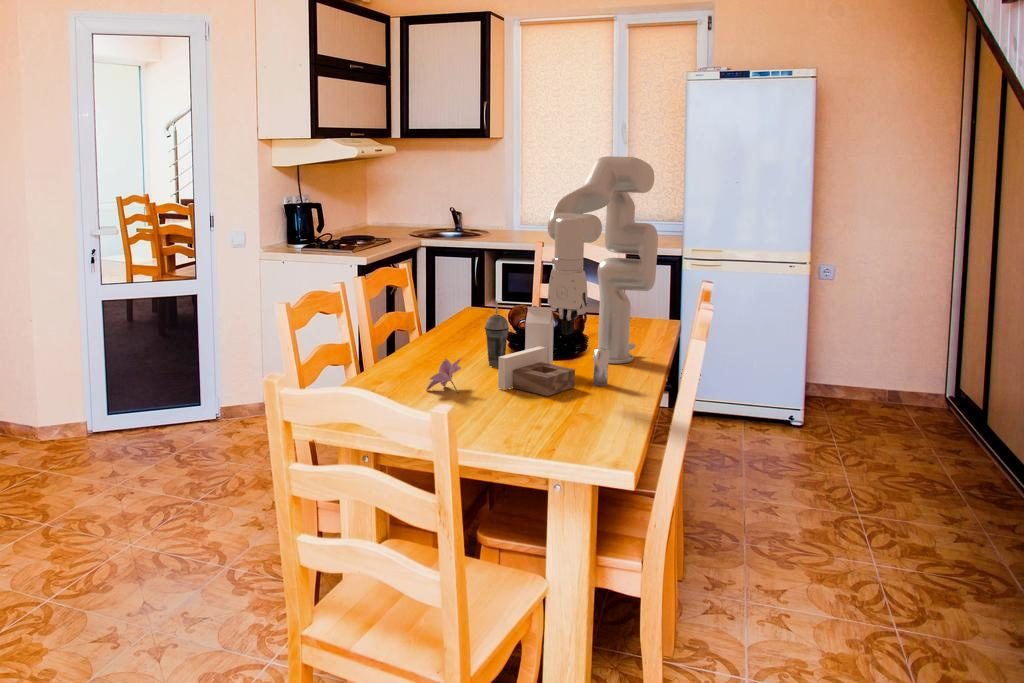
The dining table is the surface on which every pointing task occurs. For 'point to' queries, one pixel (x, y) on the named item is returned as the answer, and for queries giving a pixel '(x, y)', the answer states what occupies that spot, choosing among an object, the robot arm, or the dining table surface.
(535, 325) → the milk carton
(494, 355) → the beverage cup
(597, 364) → the steel peg
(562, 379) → the socket block
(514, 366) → the backstop wall
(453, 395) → the dining table surface
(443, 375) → the lily
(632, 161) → the robot arm
